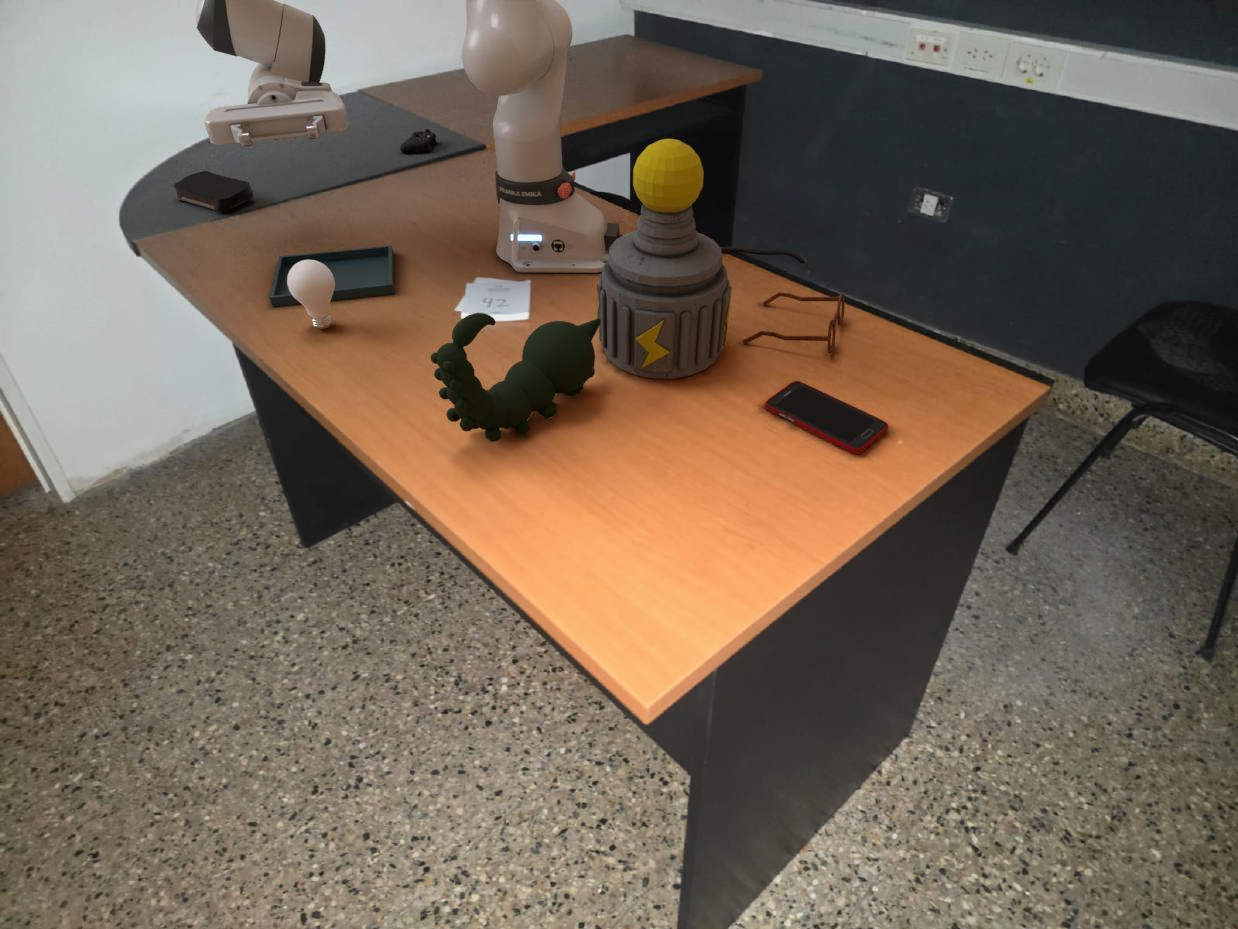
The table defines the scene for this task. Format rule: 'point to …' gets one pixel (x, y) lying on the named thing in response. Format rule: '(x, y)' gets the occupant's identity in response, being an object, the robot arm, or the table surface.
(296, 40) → the robot arm
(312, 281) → the light bulb
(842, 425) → the cell phone
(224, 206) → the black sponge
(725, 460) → the table surface
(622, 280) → the decorative lamp
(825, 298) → the glasses
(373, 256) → the tray
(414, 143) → the game controller
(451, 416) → the toy figurine
